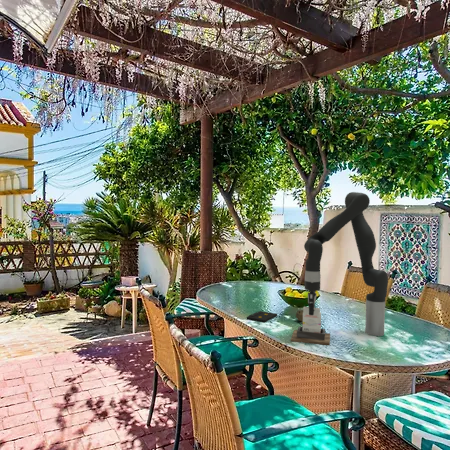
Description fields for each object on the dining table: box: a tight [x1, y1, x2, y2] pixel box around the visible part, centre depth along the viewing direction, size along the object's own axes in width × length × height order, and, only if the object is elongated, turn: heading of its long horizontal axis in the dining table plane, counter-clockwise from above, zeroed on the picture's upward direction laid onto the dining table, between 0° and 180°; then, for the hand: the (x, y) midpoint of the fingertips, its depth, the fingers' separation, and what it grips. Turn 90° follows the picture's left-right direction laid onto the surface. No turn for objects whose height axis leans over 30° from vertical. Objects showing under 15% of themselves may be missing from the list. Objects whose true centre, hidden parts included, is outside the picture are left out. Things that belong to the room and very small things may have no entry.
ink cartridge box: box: [302, 306, 322, 333], centre depth 191 cm, size 9×5×15 cm, turn 70°
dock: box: [290, 326, 331, 346], centre depth 191 cm, size 16×18×4 cm
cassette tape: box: [246, 310, 278, 324], centre depth 228 cm, size 18×12×2 cm, turn 149°
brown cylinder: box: [295, 309, 303, 323], centre depth 218 cm, size 15×7×7 cm, turn 36°
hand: (311, 312), depth 191 cm, fingers open, 8 cm apart
